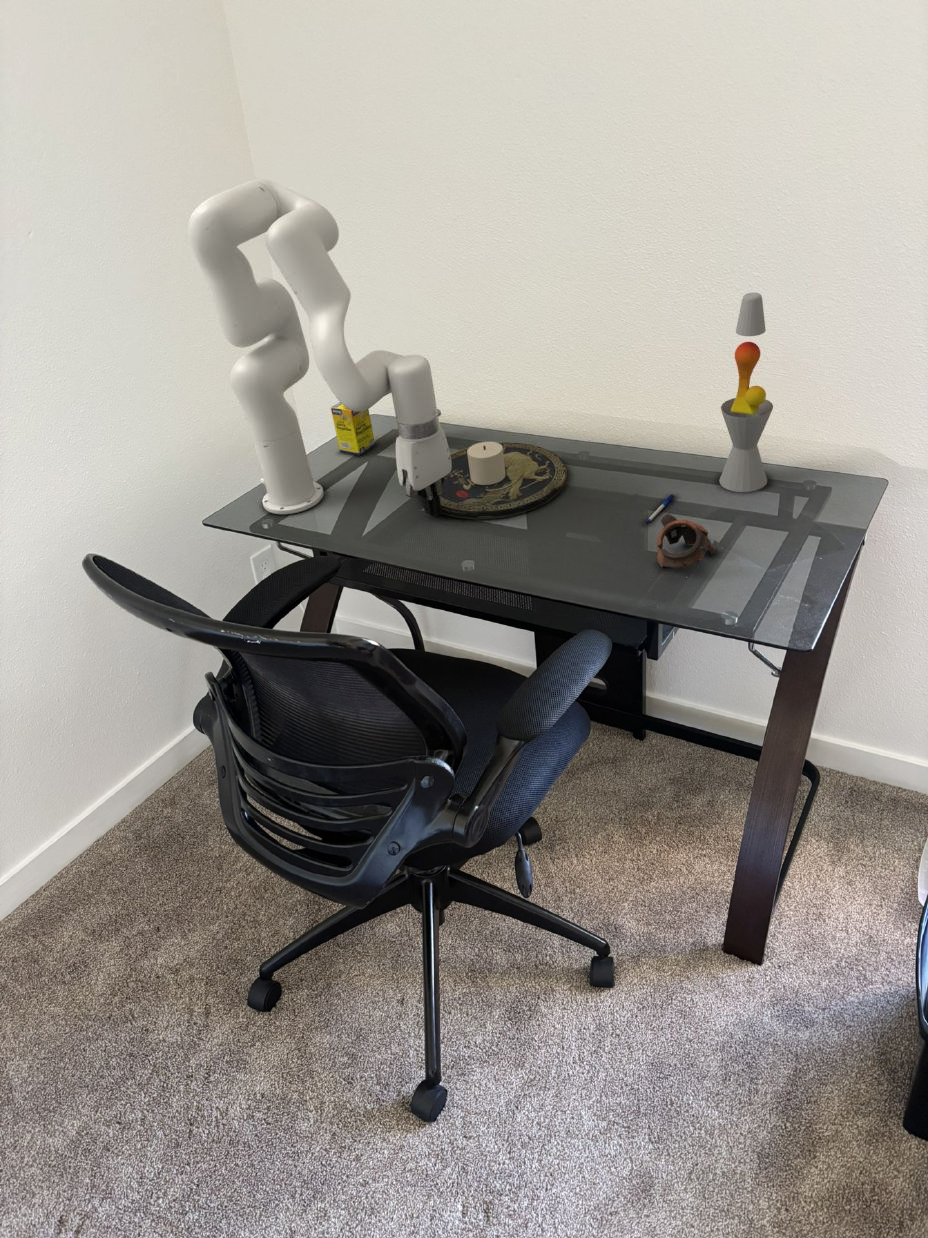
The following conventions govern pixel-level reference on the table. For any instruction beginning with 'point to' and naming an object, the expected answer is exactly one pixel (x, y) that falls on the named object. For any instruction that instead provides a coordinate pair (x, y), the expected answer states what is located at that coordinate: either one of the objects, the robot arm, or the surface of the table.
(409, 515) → the table surface
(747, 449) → the lava lamp
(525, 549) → the table surface
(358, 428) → the supplement box
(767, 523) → the table surface
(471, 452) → the candle
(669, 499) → the ballpoint pen
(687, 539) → the pottery mug
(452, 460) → the decorative plate
